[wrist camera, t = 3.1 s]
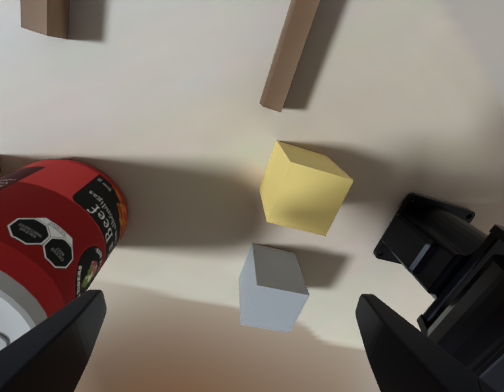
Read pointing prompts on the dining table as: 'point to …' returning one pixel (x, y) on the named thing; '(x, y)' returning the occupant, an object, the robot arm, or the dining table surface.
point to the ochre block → (302, 189)
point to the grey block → (271, 289)
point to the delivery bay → (283, 65)
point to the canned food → (53, 238)
